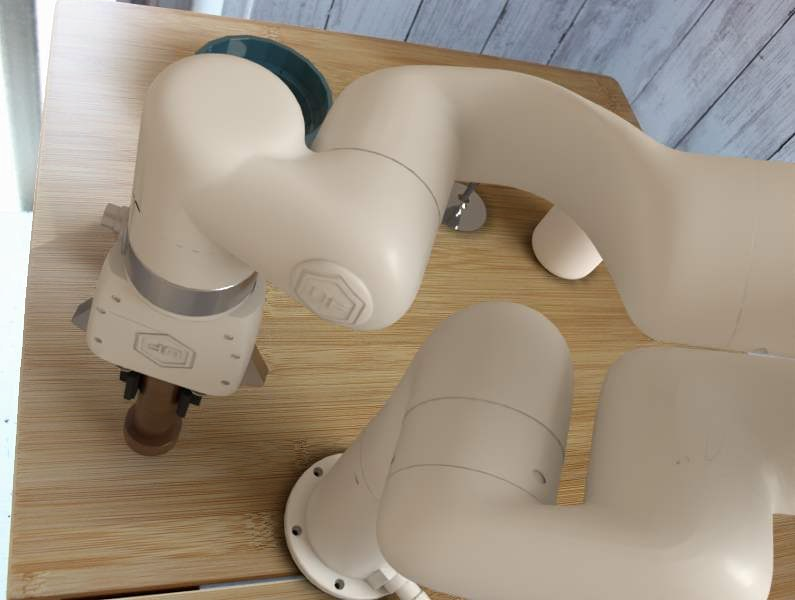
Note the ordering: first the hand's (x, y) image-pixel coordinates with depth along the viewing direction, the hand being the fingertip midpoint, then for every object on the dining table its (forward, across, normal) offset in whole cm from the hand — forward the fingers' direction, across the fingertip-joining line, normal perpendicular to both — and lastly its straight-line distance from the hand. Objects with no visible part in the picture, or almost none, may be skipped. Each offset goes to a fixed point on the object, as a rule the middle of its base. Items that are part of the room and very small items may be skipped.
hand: (161, 390), depth 62 cm
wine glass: (+11, +22, +39) cm, 46 cm away
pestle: (+8, 0, 0) cm, 8 cm away
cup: (+11, +37, +39) cm, 55 cm away
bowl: (+10, -2, +38) cm, 39 cm away
